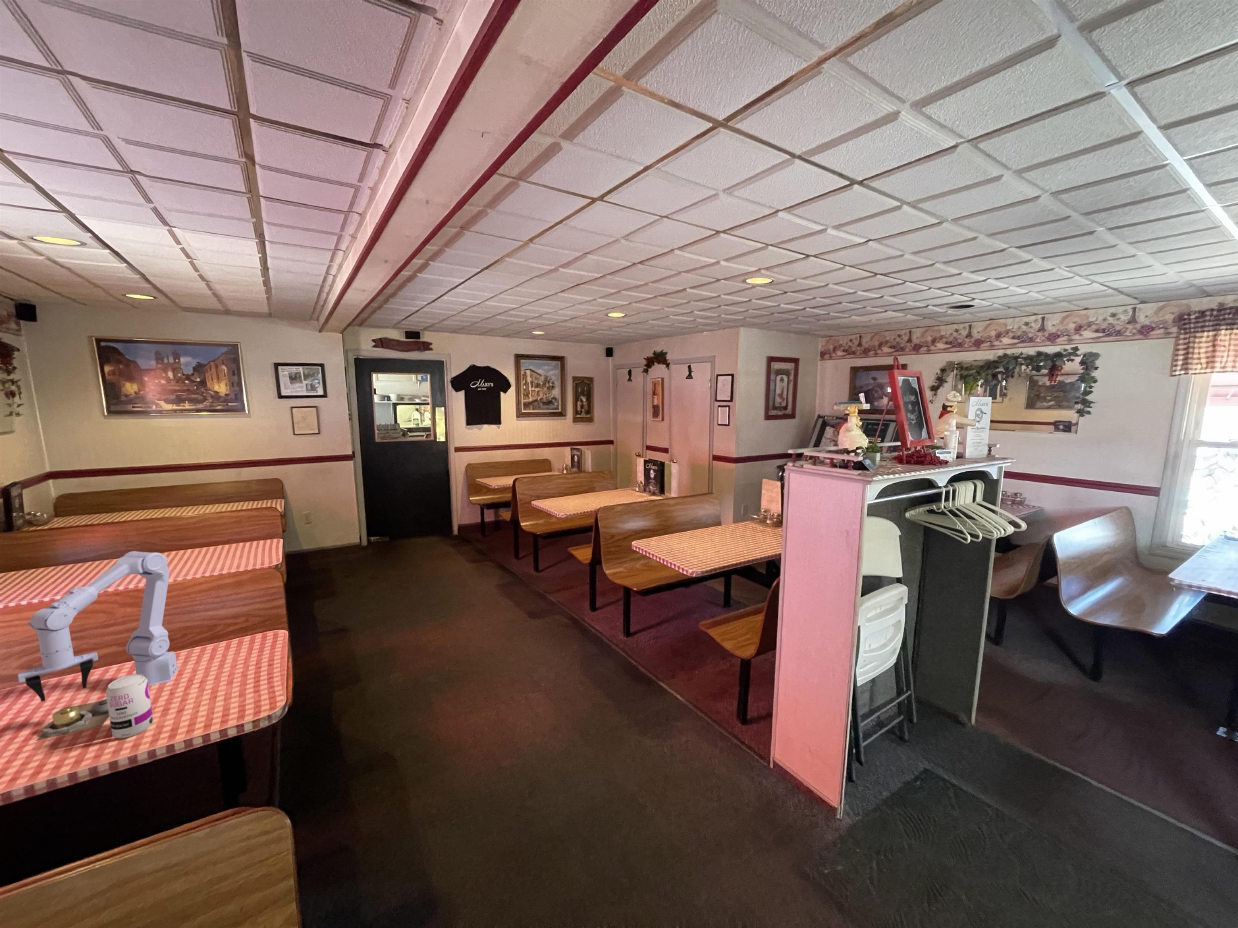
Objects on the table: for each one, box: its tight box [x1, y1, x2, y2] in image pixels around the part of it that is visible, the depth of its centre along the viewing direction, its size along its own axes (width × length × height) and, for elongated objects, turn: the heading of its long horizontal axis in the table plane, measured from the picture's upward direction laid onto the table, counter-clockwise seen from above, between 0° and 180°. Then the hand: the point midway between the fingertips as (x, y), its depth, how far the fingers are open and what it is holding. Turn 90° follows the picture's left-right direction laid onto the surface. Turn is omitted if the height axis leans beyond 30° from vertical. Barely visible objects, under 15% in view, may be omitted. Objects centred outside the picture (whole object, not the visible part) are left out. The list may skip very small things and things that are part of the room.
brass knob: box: [51, 705, 81, 730], centre depth 135 cm, size 5×5×5 cm
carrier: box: [35, 698, 110, 742], centre depth 139 cm, size 13×16×4 cm
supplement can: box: [105, 673, 154, 739], centre depth 133 cm, size 8×8×15 cm
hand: (64, 693), depth 135 cm, fingers open, 7 cm apart
